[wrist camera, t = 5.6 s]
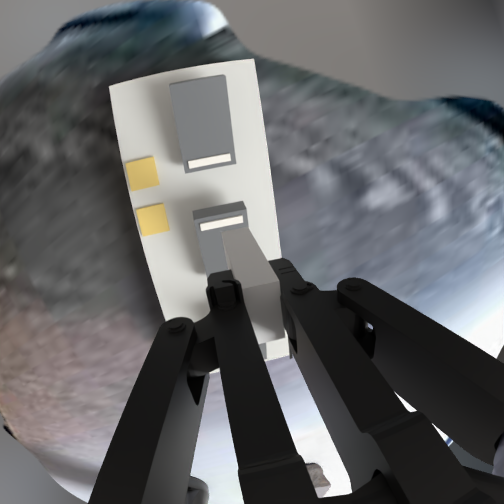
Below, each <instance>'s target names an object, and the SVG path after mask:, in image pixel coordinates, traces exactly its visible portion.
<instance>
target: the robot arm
mask: <svg viewBox="0 0 504 504" xmlns="http://www.w3.org/2000/svg"><path fill="white" fill-rule="evenodd" d="M221 234H222V239H223V245H224V250H225V255H226V261H227V266H228V270H225V271H220V272H215V273H211V274H210V275H209V277H208V278H207V284H208V286H207V287H206V295H207V299H208V303H209V307H210V312H209V314H208V315H207V316H205V317H204V318H203V319H201V320H199V321H196V322H193V321H192V320H191V319H190V318H187V317H175V318H172V319H170V320H167V321H166V322H165V323H163V324H162V325H161V327H160V328H159V330H158V333H157V335H156V337H155V339H154V341H153V344H152V346H151V348H150V350H149V353H148V355H147V357H146V359H145V362H144V364H143V366H142V368H141V371H140V373H139V375H138V378H137V380H136V382H135V385H134V387H133V389H132V392H131V394H130V396H129V399H128V401H127V404H126V406H125V408H124V411H123V413H122V416H121V418H120V421H119V423H118V426H117V428H116V430H115V433H114V435H113V438H112V441H111V443H110V446H109V448H108V451H107V453H106V456H105V459H104V461H103V464H102V466H101V469H100V472H99V474H98V477H97V480H96V483H95V485H94V488H93V491H92V494H91V496H90V499H89V502H88V504H208V500H209V491H208V486H207V484H206V483H204V482H203V481H201V480H199V479H197V478H194V477H191V476H190V473H191V468H192V463H193V457H194V452H195V447H196V442H197V437H198V432H199V427H200V422H201V417H202V412H203V407H204V402H205V397H206V392H207V387H208V383H209V378H210V377H209V372H212V371H214V370H216V369H218V368H220V374H221V380H222V386H223V391H224V397H225V402H226V407H227V413H228V418H229V423H230V428H231V433H232V438H233V443H234V448H235V453H236V458H237V462H238V477H239V482H240V487H241V491H242V496H243V500H244V504H504V363H502V362H500V361H499V360H497V359H496V358H494V357H493V356H491V355H489V354H488V353H486V352H485V351H483V350H481V349H480V348H478V347H477V346H475V345H473V344H472V343H470V342H468V341H467V340H465V339H464V338H462V337H460V336H459V335H457V334H455V333H454V332H452V331H451V330H449V329H447V328H446V327H444V326H442V325H441V324H439V323H437V322H436V321H434V320H432V319H431V318H429V317H427V316H426V315H424V314H422V313H421V312H419V311H417V310H416V309H414V308H412V307H411V306H409V305H407V304H406V303H404V302H402V301H400V300H399V299H397V298H395V297H394V296H392V295H390V294H388V293H387V292H385V291H383V290H382V289H380V288H378V287H376V286H375V285H373V284H371V283H369V282H368V281H366V280H363V279H361V278H355V277H353V278H347V279H343V280H342V281H340V282H339V283H338V284H337V290H333V291H320V290H319V289H318V288H317V287H316V285H314V284H313V283H311V282H308V281H304V279H303V278H302V277H301V275H300V274H299V273H298V271H297V270H296V268H295V267H294V266H293V264H292V263H291V262H290V261H289V260H287V259H285V258H279V259H274V260H269V261H268V260H267V259H266V257H265V255H264V254H263V252H262V250H261V248H260V247H259V245H258V243H257V242H256V240H255V238H254V236H253V235H252V233H251V231H250V230H249V228H248V227H244V228H239V229H234V230H229V231H224V232H221ZM368 323H369V324H371V325H372V326H373V330H372V329H370V328H369V327H368ZM284 328H285V329H284ZM285 330H286V332H287V335H288V345H289V355H290V359H291V358H293V357H292V354H293V356H294V358H295V360H296V362H297V364H298V367H299V369H300V371H301V373H302V375H303V377H304V380H305V382H306V384H307V386H308V388H309V390H310V393H311V395H312V397H313V399H314V401H315V404H316V406H317V408H318V410H319V412H320V414H321V417H322V419H323V421H324V423H325V425H326V427H327V430H328V432H329V434H330V436H331V438H332V440H333V442H334V445H335V447H336V449H337V451H338V453H339V455H340V458H341V460H342V462H343V464H344V466H345V468H346V470H347V473H348V475H349V478H350V482H351V489H352V492H353V493H350V494H347V495H340V496H332V497H323V498H318V496H317V493H316V490H315V488H314V485H313V483H312V480H311V478H310V475H309V472H308V470H307V467H306V465H305V462H304V460H303V458H302V457H301V455H299V454H298V453H297V450H296V448H295V445H294V442H293V440H292V437H291V434H290V431H289V429H288V426H287V423H286V420H285V418H284V415H283V412H282V409H281V406H280V404H279V401H278V398H277V395H276V392H275V390H274V387H273V384H272V381H271V378H270V375H269V373H268V370H267V367H266V364H265V361H264V358H263V355H262V352H261V350H260V347H259V344H261V343H266V342H270V341H274V340H278V339H282V338H285ZM395 392H396V393H397V394H398V395H399V396H400V397H401V398H403V399H404V400H405V401H406V402H407V403H409V404H410V405H411V406H412V407H413V408H415V409H416V410H417V411H415V412H409V411H408V410H407V409H406V408H405V406H404V405H403V404H402V402H401V401H400V399H399V398H398V397H397V395H396V394H395ZM432 423H433V424H434V425H435V426H436V427H437V428H439V429H440V430H441V431H442V432H443V433H445V434H446V435H447V436H448V437H449V438H451V439H452V440H453V441H454V442H456V443H457V444H458V445H459V446H460V447H462V448H463V449H464V450H466V451H467V452H469V453H470V454H471V455H472V456H474V457H476V458H478V459H480V460H481V461H483V462H485V463H487V464H490V465H493V466H494V469H493V471H492V474H489V473H486V472H482V471H479V470H475V469H472V468H468V467H465V466H462V465H461V464H460V462H459V461H458V459H457V458H456V457H455V455H454V454H453V452H452V451H451V450H450V448H449V447H448V445H447V444H446V443H445V441H444V440H443V438H442V437H441V436H440V434H439V433H438V431H437V430H436V429H435V427H434V426H433V425H432Z"/></svg>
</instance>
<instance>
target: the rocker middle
mask: <svg viewBox="0 0 504 504" xmlns="http://www.w3.org/2000/svg"><path fill="white" fill-rule="evenodd" d="M192 212H193V220H194V224H195V229H196V233H197V238H198V242H199V246H200V251H201V255H202V259H203V263H204V267H205V272H206V276H207V278H208V277H209V275H210V274H211V273H215V272H220V271H225V270H228V266H227V261H226V255H225V250H224V245H223V239H222V234H221V232H224V231H229V230H234V229H239V228H244V227H248V228H249V225H248V216H247V209H246V206H245V204H244V202H243V201H238V202H233V203H228V204H223V205H218V206H213V207H208V208H203V209H198V210H194V211H192Z"/></svg>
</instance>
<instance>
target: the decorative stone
mask: <svg viewBox="0 0 504 504" xmlns="http://www.w3.org/2000/svg"><path fill="white" fill-rule="evenodd" d="M306 467H307V470H308V472H309V475H310V478H311V480H312V483H313V485H314V488H315V490H316V493H317V496H318V498H322V497H323V496H324V495H325V494H326V492H327V491H328V490H329V488H330V487H331V484H330V482H329V481H328V480H327V479H326V477H325V476H324V475H323V470H322V468H321V467H320V466H319V465H318V464H306Z"/></svg>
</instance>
